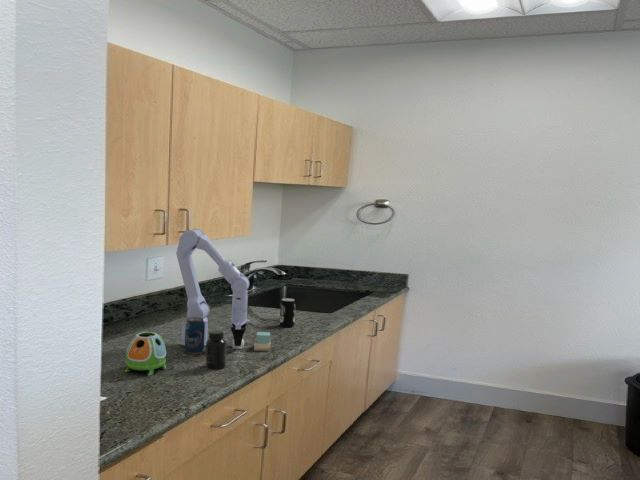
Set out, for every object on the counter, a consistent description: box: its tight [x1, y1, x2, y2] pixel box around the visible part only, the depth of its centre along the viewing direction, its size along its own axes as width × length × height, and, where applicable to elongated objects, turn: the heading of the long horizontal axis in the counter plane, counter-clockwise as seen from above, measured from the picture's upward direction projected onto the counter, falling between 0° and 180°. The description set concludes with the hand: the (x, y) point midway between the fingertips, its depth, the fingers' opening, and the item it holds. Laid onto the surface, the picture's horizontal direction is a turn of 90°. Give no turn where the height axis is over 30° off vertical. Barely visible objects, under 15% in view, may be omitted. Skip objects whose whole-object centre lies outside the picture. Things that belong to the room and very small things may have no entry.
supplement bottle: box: [205, 329, 227, 370], centre depth 200 cm, size 7×7×12 cm
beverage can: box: [279, 297, 296, 328], centre depth 264 cm, size 7×7×12 cm
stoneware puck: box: [231, 338, 245, 350], centre depth 226 cm, size 4×4×3 cm
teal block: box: [256, 331, 271, 343], centre depth 226 cm, size 5×5×3 cm
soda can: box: [184, 318, 205, 355], centre depth 217 cm, size 7×7×12 cm
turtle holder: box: [125, 331, 167, 377], centre depth 195 cm, size 12×18×12 cm
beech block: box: [253, 338, 272, 352], centre depth 226 cm, size 6×6×3 cm
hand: (238, 343), depth 226 cm, fingers open, 6 cm apart
